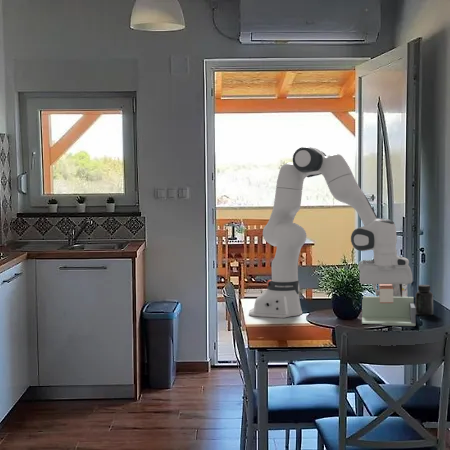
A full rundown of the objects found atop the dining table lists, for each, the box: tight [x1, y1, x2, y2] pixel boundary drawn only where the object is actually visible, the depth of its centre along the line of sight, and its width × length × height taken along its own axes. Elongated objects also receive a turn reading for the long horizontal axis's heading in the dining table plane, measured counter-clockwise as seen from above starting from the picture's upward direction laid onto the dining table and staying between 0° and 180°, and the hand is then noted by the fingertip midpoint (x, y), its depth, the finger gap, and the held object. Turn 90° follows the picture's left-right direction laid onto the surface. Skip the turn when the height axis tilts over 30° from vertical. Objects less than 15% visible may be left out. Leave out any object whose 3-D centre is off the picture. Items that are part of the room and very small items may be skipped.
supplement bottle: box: [415, 284, 434, 317], centre depth 279 cm, size 7×7×12 cm
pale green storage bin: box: [361, 295, 417, 327], centre depth 267 cm, size 20×12×9 cm, turn 78°
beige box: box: [378, 284, 393, 303], centre depth 266 cm, size 5×8×6 cm, turn 169°
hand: (386, 295), depth 266 cm, fingers closed on beige box, 5 cm apart
